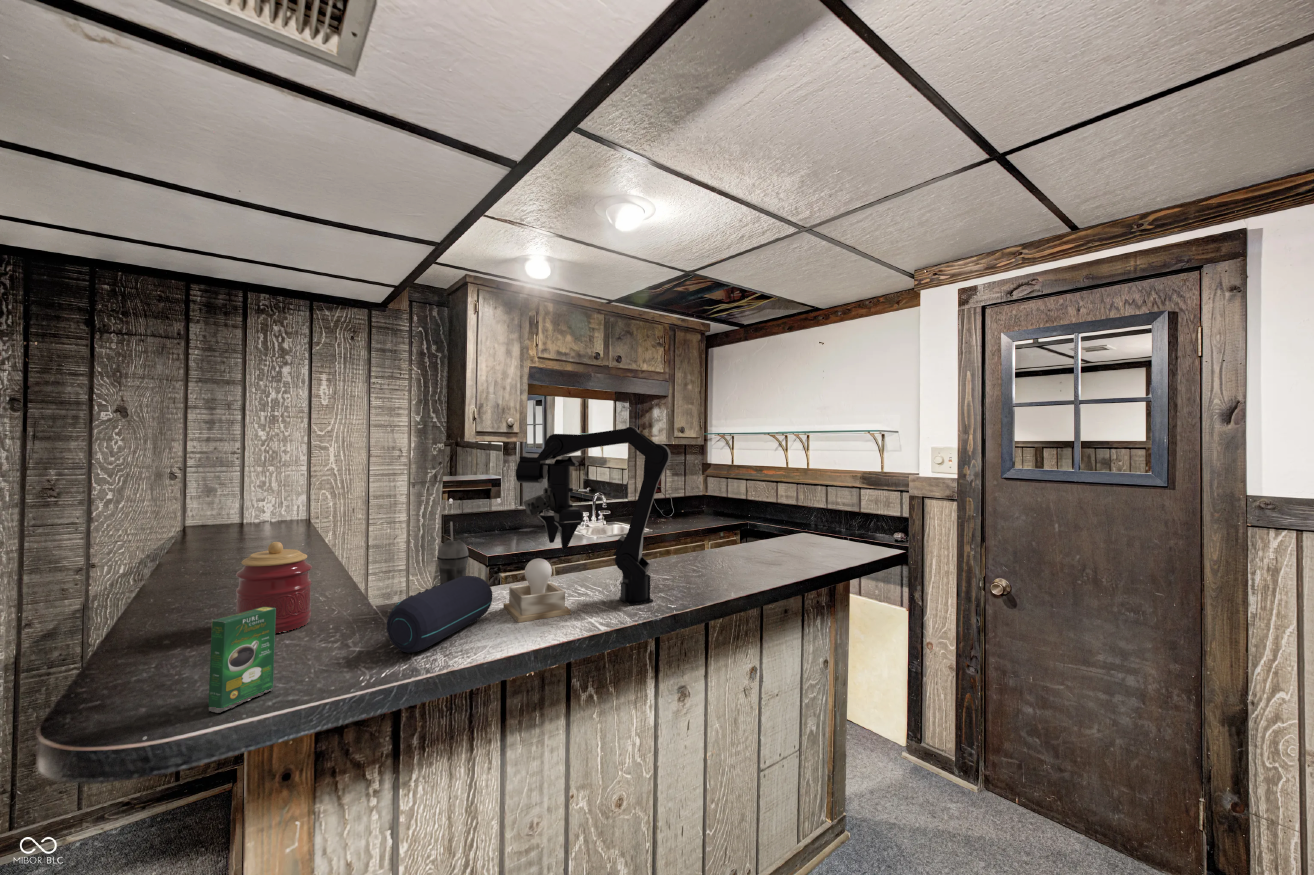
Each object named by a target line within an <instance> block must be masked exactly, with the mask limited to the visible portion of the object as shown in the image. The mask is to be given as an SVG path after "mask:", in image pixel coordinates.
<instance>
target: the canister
mask: <svg viewBox="0 0 1314 875" xmlns="http://www.w3.org/2000/svg"><path fill="white" fill-rule="evenodd" d="M307 558H308V554H306V553H303V552H302V551H300V550H299V549H292V548H291V549H289V548H286V549H285V548H284V546H283V543H281V542H280V541H274V542H271V543H270V544H269V545H268V547H267V550H264V551H258V552H254V553H251V554H250V555H249V556H248V557H246V558H245V559H243V560H242V561H241V565H243V567H242V569H240V570H238V571H237V572H236V574H235V576H236V578H237V579H238V587H237V588H236V590H235V593H236V611H235V612H236V613H235V614H238V613H242V612H246V611H249V610H253V609H257V608H260V607H272V608H276V618H275V619H276V620H275V633H279V632H283V631H288V632H290V631H289V630H292V631H294V630H293V629H295V630H297V629H296V628H298V629H300V628H299V627H301V626H303V627H304V625H305V626H306V625H308V624H309V623H308V622H311V621H310V619H311V616H312V608H311V591H312V590H311V589H312V587H311V585H312V580H311V579H310V571H311V570H312V569H313V566H312V564H310V563H308V562H307V561H306V559H307ZM307 623H308V624H307ZM301 628H302V627H301Z"/></svg>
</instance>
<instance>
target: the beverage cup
mask: <svg viewBox="0 0 1314 875" xmlns="http://www.w3.org/2000/svg"><path fill="white" fill-rule="evenodd" d="M449 522H450V523H449V524H450V525H449V527H450V528H449V529H450V539H448V540H446V541H444V542H443V543H442V544H441V545H440V547H439V549H438V551H437V556H436V560H437V565H438V569H439V570H438V571H439V572H438V573H439V585H440V584H441V583H443V584H444V583H446V582H447V581H451V580H454V579H456V578H459V577H461V576H467V574H466V573H467V565H468V562H469V558H470V554H469V550H468V547H467V545H466V543H465V542H463V541H462V540H460V539H458V538H457V539H454V533H453V532H454V531H453V529H454V528H453V526H454V525H453V521H449Z"/></svg>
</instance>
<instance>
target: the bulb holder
mask: <svg viewBox="0 0 1314 875" xmlns="http://www.w3.org/2000/svg"><path fill="white" fill-rule="evenodd" d="M503 610H505V611H506V612H507V613H508V614H509V615H510V616H511V617H512V618H513V619H514V620H515V621H516V622H517V623H524V622H531V621H537V620H542V619H548V618H555V617H561V616H569V615H571V612H572V610H571V609H570V608H569V606H566V591H565V590H563V588H561V587H559V586H557V585H556V584H554V583H553V582H551V581H548V582H547V584H546V587H545V593H542V594H535V595H531V590H530V586H529V584H520V585H515V586H509V587H508V602H506V603H503Z"/></svg>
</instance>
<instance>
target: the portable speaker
mask: <svg viewBox="0 0 1314 875" xmlns="http://www.w3.org/2000/svg"><path fill="white" fill-rule="evenodd" d="M492 601H493V590H492V588H491V586H490V584H489V583H488V582H487V581H486V580H485V579H484V578H481V577H480V576H475V575H466V576H461V577H459V578H456V579H454V580H451V581H447V582H446V583H444V584H443V583H441V584H440V583H439V585H437V586H436V585H434V586H432V587H431V588H426V589H425V590H424V591H418V593H416V594H411V595H410V596H408V597H407V598H404V599H403V600H401V601H399V602H398V603H397V604H396V605H395V606H394V607H393V608H391V611H390V613H389V615H388V616H387V620H386V631H387V635H388V638H389V639H390V641H391V643H392V645H393V647H395V648H397V649H398V650H399V651H401V652H404V653H407V654H408V653H417V652H419V651H423V650H425V649H427V648H429V647H430V646H432V645H434V644H437V643H438V642H440V641H442V640H443V639H445V638H447V637H449V636H451V635H453V634H454V633H456V632H458V631H460V630H462V629H464V628H465V627H467V626H469V625H471V624H473V623H474V622H477V621H478V620H479V619H480V618H482V617H483V616H484V615H485V614H486V613H487V612H488V611H489V609H490V608H491V605H492Z"/></svg>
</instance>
